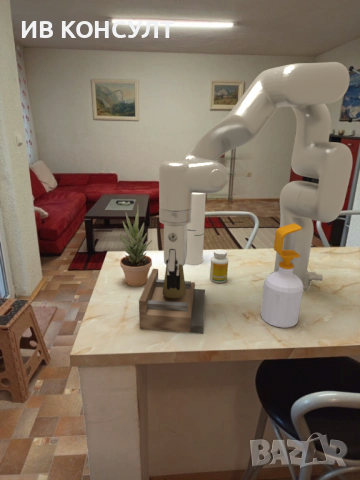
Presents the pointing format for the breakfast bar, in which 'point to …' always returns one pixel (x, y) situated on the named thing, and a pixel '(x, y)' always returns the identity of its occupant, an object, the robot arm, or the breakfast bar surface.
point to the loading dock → (171, 308)
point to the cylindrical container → (196, 230)
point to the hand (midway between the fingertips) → (174, 284)
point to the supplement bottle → (219, 266)
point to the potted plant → (135, 254)
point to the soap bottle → (282, 286)
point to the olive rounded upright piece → (173, 291)
